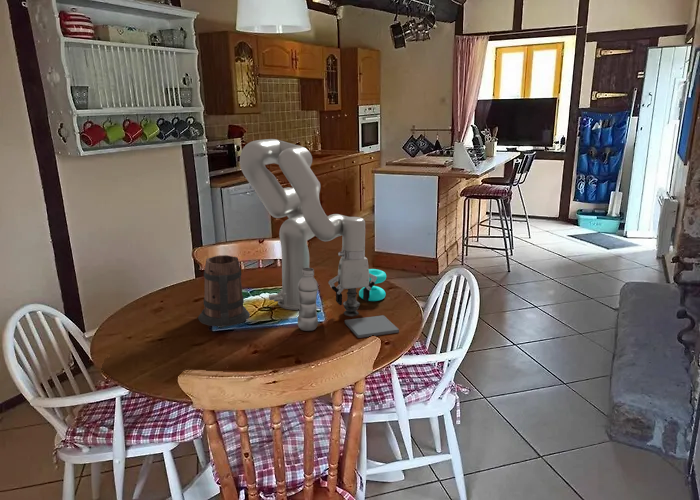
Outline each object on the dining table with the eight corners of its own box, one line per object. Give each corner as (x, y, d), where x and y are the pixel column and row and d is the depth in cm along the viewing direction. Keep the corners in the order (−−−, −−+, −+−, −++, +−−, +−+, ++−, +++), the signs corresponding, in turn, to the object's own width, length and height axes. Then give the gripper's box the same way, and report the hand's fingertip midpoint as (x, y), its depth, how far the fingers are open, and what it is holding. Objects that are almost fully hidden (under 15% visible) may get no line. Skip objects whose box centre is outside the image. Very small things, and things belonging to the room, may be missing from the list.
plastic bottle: (302, 334, 162) (302, 274, 156) (294, 326, 167) (294, 267, 162) (321, 331, 164) (322, 271, 159) (312, 323, 170) (313, 265, 165)
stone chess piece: (358, 317, 176) (359, 284, 173) (341, 315, 177) (341, 282, 174) (361, 311, 182) (362, 278, 178) (344, 309, 183) (345, 276, 179)
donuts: (361, 267, 197) (388, 269, 196) (360, 291, 200) (386, 293, 199) (357, 275, 188) (385, 277, 186) (356, 301, 191) (383, 303, 189)
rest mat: (358, 338, 161) (358, 335, 160) (344, 322, 171) (344, 320, 171) (398, 332, 165) (399, 329, 165) (383, 317, 176) (383, 315, 176)
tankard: (198, 308, 180) (195, 252, 174) (248, 305, 184) (246, 250, 178) (196, 337, 158) (193, 274, 152) (253, 332, 162) (251, 272, 157)
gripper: (332, 259, 167) (332, 309, 172) (381, 254, 173) (380, 302, 178) (325, 253, 174) (325, 301, 178) (372, 249, 180) (371, 295, 184)
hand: (352, 302), depth 178 cm, fingers open, 9 cm apart
